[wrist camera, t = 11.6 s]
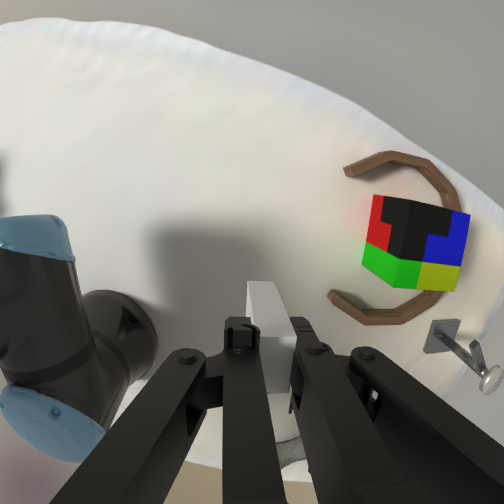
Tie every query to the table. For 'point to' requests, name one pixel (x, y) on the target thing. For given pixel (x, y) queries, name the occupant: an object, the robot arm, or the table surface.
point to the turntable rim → (448, 201)
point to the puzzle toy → (415, 244)
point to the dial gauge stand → (463, 353)
